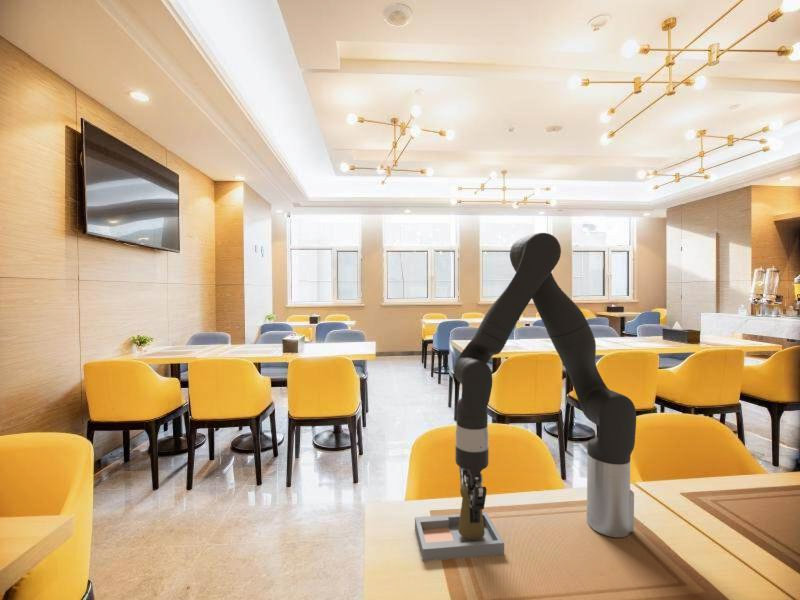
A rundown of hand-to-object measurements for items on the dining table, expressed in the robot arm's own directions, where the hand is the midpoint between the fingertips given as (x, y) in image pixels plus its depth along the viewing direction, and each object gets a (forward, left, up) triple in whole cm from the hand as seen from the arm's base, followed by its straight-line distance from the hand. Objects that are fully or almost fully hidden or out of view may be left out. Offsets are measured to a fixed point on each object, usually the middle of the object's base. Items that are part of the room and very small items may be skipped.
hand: (471, 516), depth 87 cm
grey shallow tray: (+3, 0, -5) cm, 6 cm away
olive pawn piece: (0, 0, -3) cm, 3 cm away
